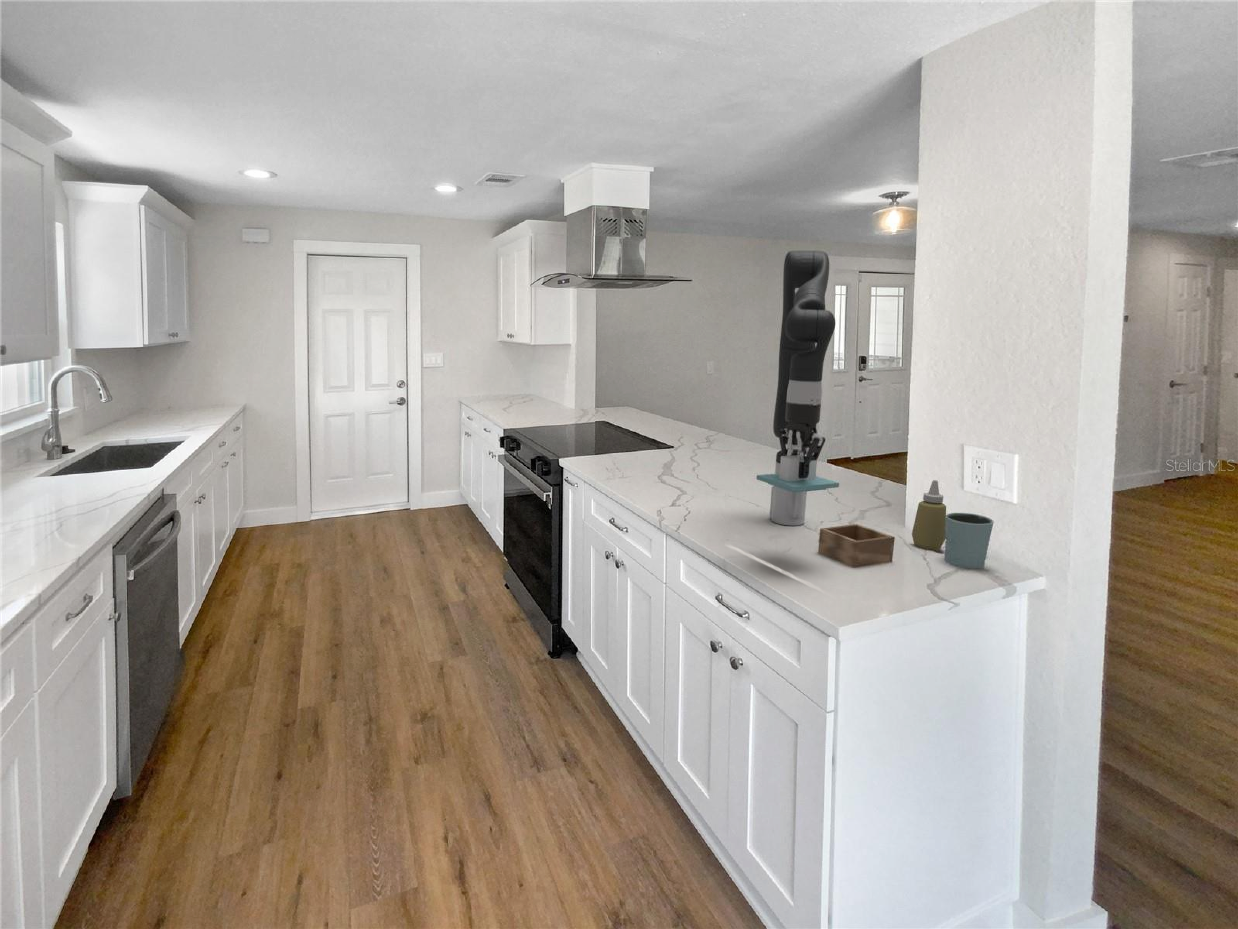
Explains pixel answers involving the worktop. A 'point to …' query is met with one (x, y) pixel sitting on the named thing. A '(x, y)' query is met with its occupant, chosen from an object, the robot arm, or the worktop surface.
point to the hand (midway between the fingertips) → (797, 476)
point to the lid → (796, 477)
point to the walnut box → (856, 545)
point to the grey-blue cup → (967, 539)
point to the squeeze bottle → (930, 520)
